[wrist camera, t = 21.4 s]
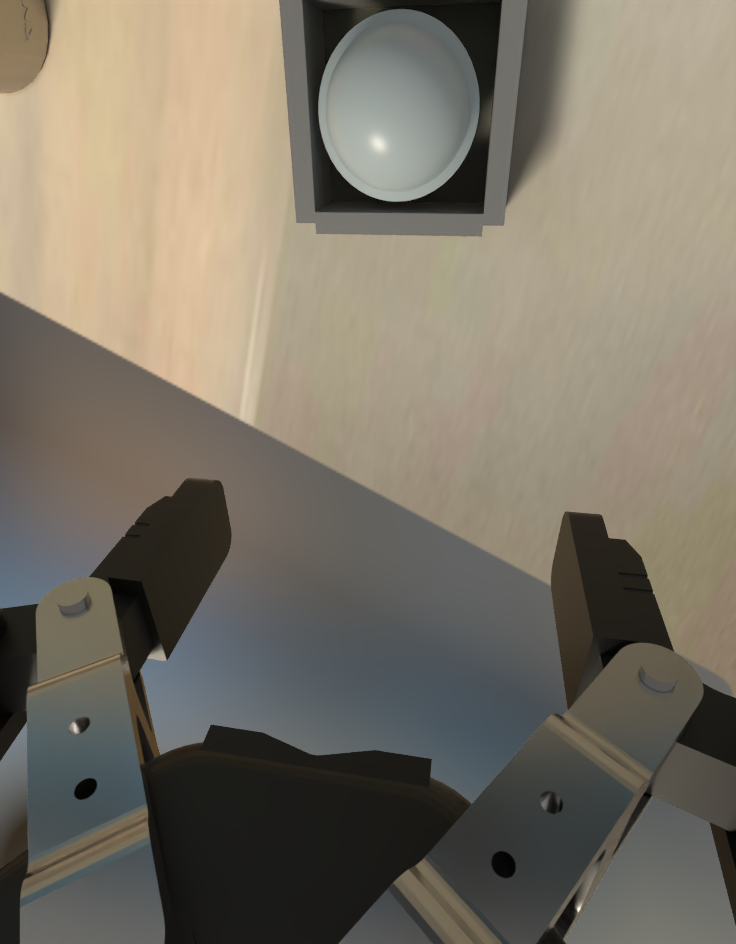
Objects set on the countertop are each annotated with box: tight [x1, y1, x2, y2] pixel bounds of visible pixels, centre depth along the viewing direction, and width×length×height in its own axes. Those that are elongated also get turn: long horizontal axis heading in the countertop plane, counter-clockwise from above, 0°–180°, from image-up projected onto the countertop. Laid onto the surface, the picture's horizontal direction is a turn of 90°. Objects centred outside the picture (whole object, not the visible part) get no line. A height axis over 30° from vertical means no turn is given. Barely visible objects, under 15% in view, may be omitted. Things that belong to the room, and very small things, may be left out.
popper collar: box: [279, 0, 528, 236], centre depth 32 cm, size 12×12×4 cm
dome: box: [318, 9, 480, 202], centre depth 30 cm, size 9×9×8 cm
